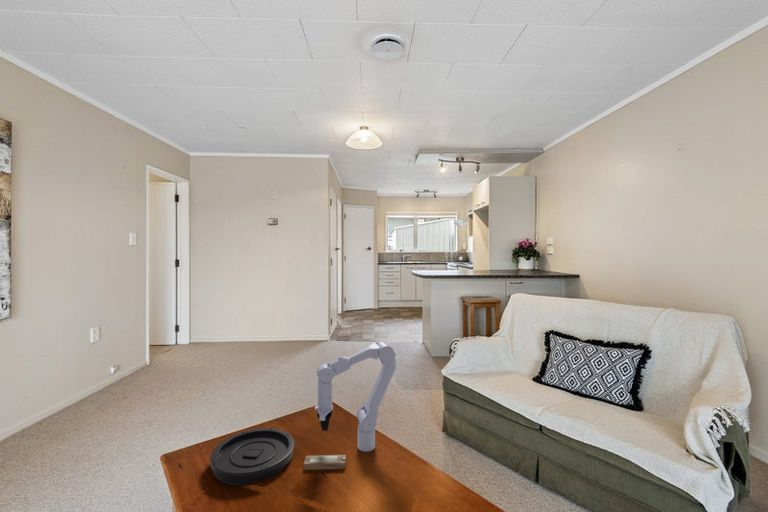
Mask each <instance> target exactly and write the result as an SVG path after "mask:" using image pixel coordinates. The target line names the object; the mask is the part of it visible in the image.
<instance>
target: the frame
mask: <svg viewBox="0 0 768 512" xmlns="http://www.w3.org/2000/svg"><path fill="white" fill-rule="evenodd" d="M346 462H347V455H346V454H328V455H327V454H326V455H325V454H321V455H306V456H305V459H304V461H303V470H304V471H307V470H308V471H309V470H310V471H311V470H314V471H315V470H318V471H319V470H345V469H346Z"/></svg>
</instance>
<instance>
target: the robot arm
mask: <svg viewBox="0 0 768 512" xmlns="http://www.w3.org/2000/svg"><path fill="white" fill-rule="evenodd" d="M396 356H397V355H396V352H395V350H394V348H393V347H391V346H390V345H389V344H388V343H387V342H386V341H384V340H378V341H377V342H373V343H371V344H370V345H368V346H367V347H365V348H364V349H361V350H360V351H358V352H356V353H354V354H352V355H350V356H345V355H343V356H341V355H340V356H338V357H337V359H335V360H333V361H331V362H330V361H328V362H327V363H324V364H321V365H320V366H319V367H318V368H317V370H316V375H317V377H318V379H317V405H316V406H315V407H314V410H315V411H317V413H316V414H317V418H318V420H319V423H320V428H321V431H322V432H327V431H328V430H329V425H330V420H331V417H332V415H333V411H334V410H333V409H334V405H333V383H332V382H333V379H334V378H335V377H337V376H339V375H341V374H343V373H346V372H347V371H350V369H351V367H352V366H353V365H355V364H358V363H361V362H362V361H366V360H367V359H374V360H380V363H381V365H382V367H381V369H380V371H379V374H378V376H377V378H376V380H375V382H374V384H373V387H372V389H371V392H370V394H369V396H368V399H367V400H366V401H365V402H364V403H363V404H362V406H361V407H360V408H359V409H358V411H357V412H356V418H357V419H358V425H357V450H359V451H361V452H363V453H365V452H367V453H368V452H372V451H373V450H375V448H376V427H377V419H378V417H379V407H380V405H381V402H382V400H383V398H384V396H385V394H386V391H387V389H388V386H389V384H390V382H391V381H392V378H393V375H394V373H395V371H396V369H397V365H396Z"/></svg>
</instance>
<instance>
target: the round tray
mask: <svg viewBox="0 0 768 512" xmlns="http://www.w3.org/2000/svg"><path fill="white" fill-rule="evenodd" d="M294 448H295V439H294V438H293V436H292V435H291V434H289V433H288V432H286V430H285V431H284V430H282V429H277V428H255V429H254V428H253V429H249V430H245V431H242V432H239V433H237V434H234V435H231V436H229V437H227V438H225V439H224V440H222V441H221V442H219V444H218V445H217V446H216V447H214V449H213V450H212V452H211V454H210V458H209V461H210V468H211V471H212V473H213V475H214V477H215V478H216V479H217V480H218V481H220V482H221V483H222V484H226V485H229V486H238V487H239V486H240V487H241V486H243V487H245V486H250V485H253V483H256V482H259V481H264V480H267V479H269V478H271V477H272V476H275V475H277V474H278V473H279V472H281V471H282V470H283V469H284V468H286V467H287V465H288V464H289V463H290V462H291V460H292V457H293V454H294V450H295V449H294Z"/></svg>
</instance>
